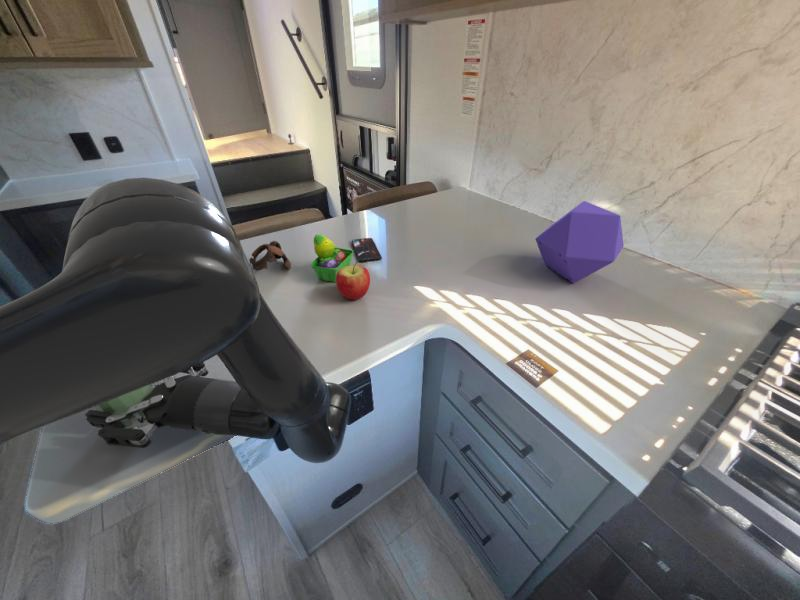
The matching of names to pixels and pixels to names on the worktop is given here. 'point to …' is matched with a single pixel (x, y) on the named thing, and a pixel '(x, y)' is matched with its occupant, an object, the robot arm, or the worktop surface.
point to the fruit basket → (329, 258)
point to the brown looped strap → (269, 256)
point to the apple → (353, 281)
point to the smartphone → (366, 249)
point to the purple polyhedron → (581, 241)
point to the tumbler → (126, 401)
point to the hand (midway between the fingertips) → (116, 391)
